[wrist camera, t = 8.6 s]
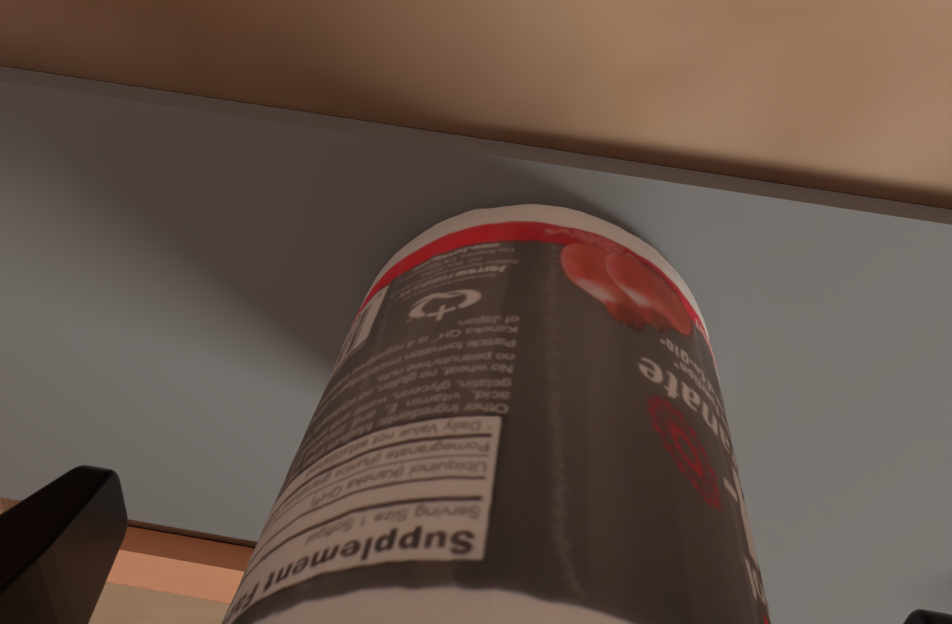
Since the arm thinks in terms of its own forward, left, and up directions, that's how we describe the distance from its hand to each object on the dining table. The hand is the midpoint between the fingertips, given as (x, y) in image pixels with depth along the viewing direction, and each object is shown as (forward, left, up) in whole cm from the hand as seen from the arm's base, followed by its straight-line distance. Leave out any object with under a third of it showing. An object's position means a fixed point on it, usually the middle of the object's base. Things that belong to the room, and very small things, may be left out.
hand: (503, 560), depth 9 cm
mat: (-1, 0, -5) cm, 5 cm away
